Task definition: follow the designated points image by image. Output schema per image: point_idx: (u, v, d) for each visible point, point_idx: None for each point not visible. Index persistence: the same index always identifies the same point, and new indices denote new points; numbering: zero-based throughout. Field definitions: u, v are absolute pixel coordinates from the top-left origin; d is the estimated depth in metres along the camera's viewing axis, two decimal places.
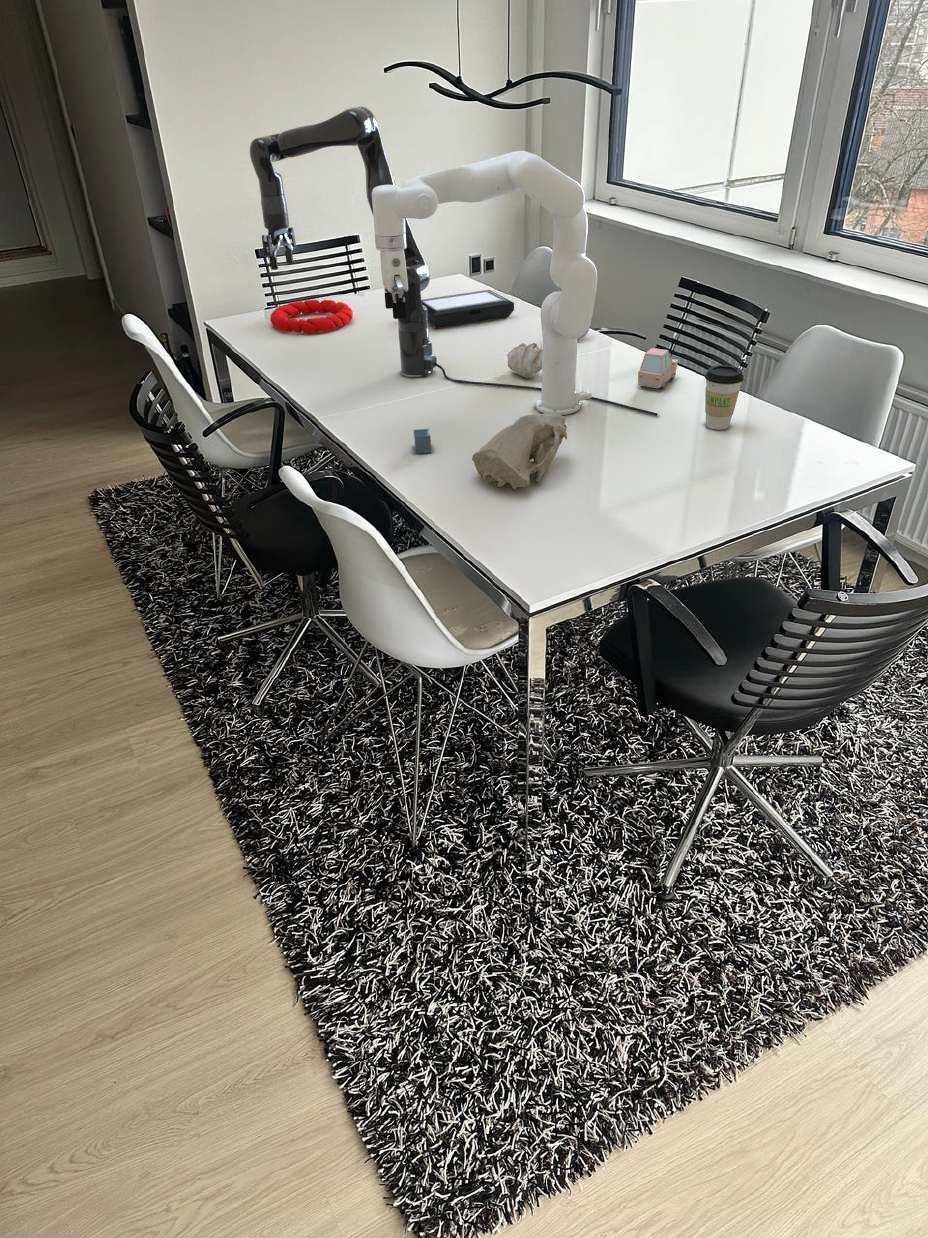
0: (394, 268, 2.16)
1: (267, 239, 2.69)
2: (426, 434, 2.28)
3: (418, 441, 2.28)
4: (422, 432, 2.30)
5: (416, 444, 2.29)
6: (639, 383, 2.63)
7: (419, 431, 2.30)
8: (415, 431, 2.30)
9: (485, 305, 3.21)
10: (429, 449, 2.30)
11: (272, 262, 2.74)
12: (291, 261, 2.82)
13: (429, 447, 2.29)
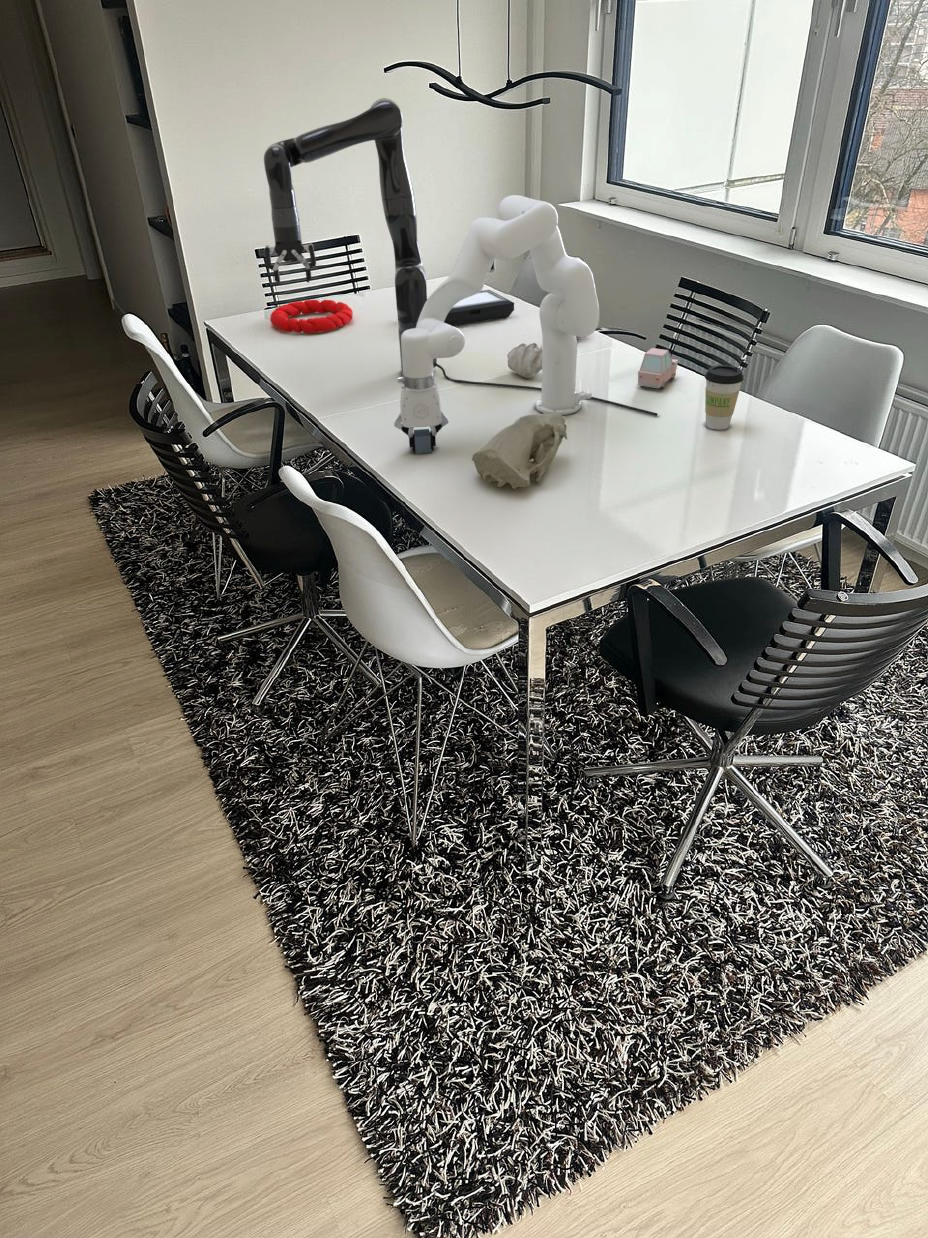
0: None
1: (265, 250, 2.56)
2: (426, 434, 2.28)
3: (418, 441, 2.28)
4: (422, 432, 2.30)
5: (416, 444, 2.29)
6: (639, 383, 2.63)
7: (419, 431, 2.30)
8: (415, 431, 2.30)
9: (485, 305, 3.21)
10: (429, 449, 2.30)
11: (274, 275, 2.60)
12: None
13: (429, 447, 2.29)
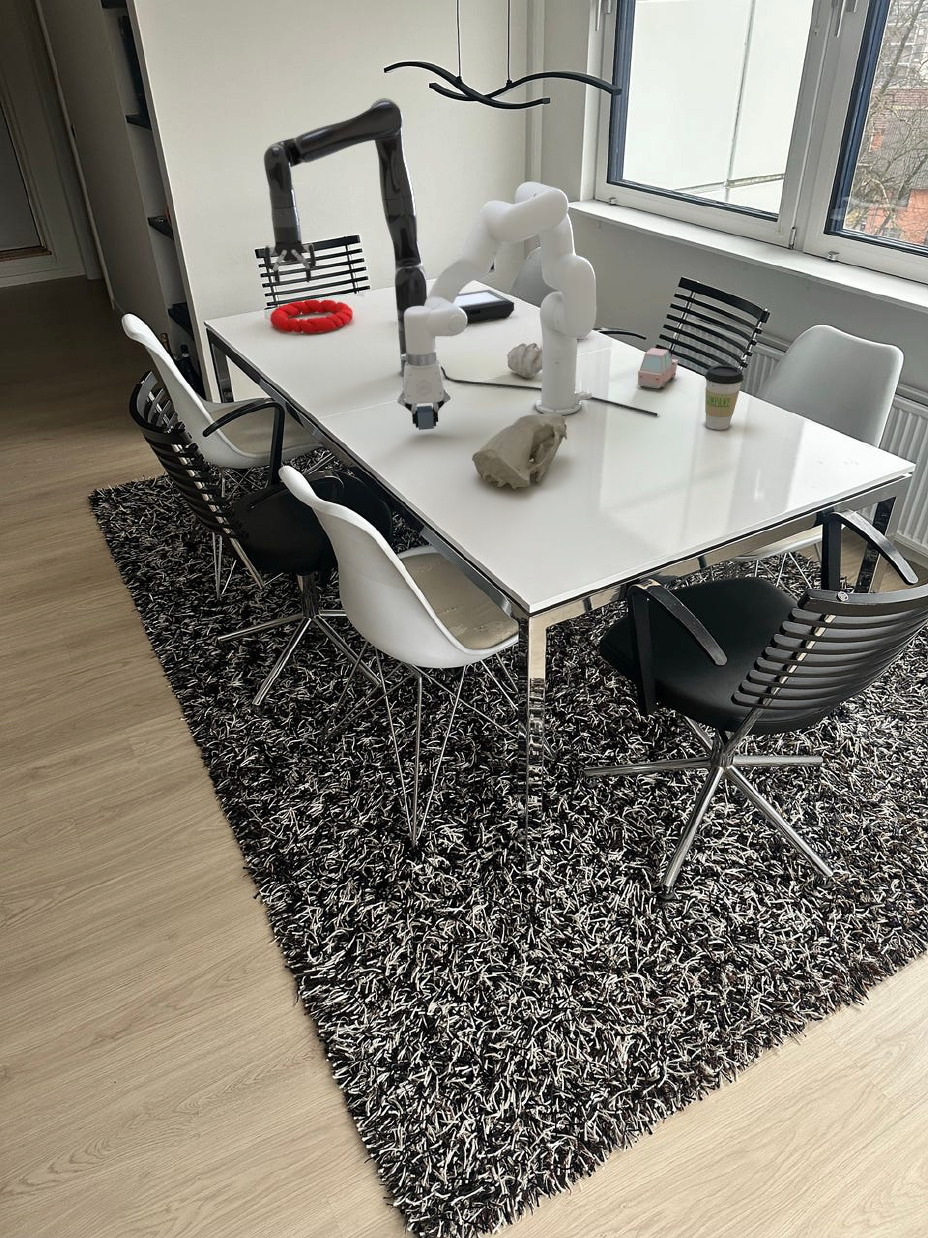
0: None
1: (265, 250, 2.56)
2: (429, 410, 2.34)
3: (421, 417, 2.34)
4: (424, 408, 2.35)
5: (419, 420, 2.34)
6: (639, 383, 2.63)
7: (422, 408, 2.35)
8: (418, 408, 2.36)
9: (485, 305, 3.21)
10: (432, 425, 2.35)
11: (274, 275, 2.60)
12: None
13: (432, 423, 2.35)
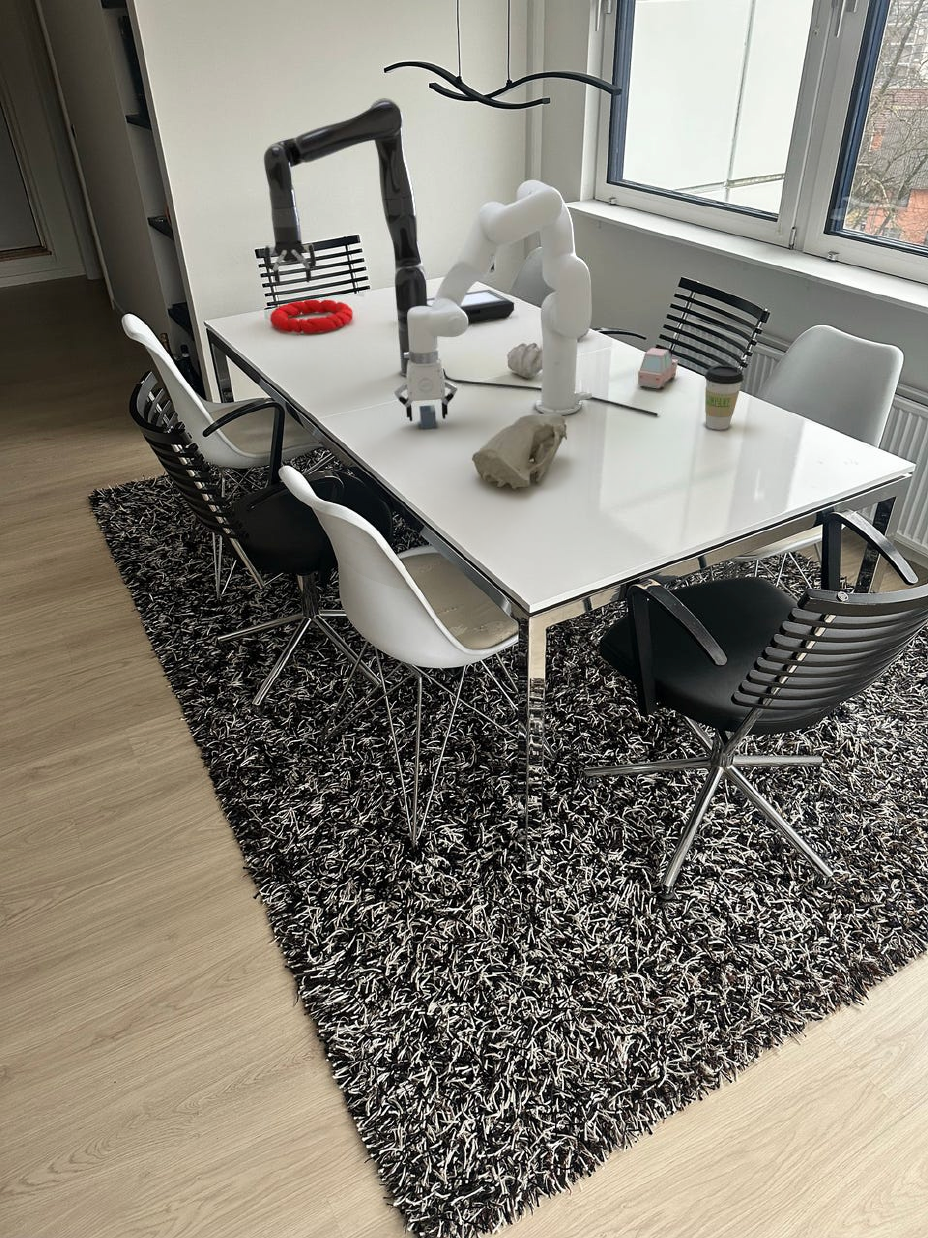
0: None
1: (265, 250, 2.56)
2: (431, 410, 2.42)
3: (423, 416, 2.42)
4: (427, 408, 2.43)
5: (422, 419, 2.42)
6: (639, 383, 2.63)
7: (425, 407, 2.43)
8: (421, 407, 2.44)
9: (485, 305, 3.21)
10: (434, 424, 2.43)
11: (274, 275, 2.60)
12: None
13: (434, 422, 2.43)
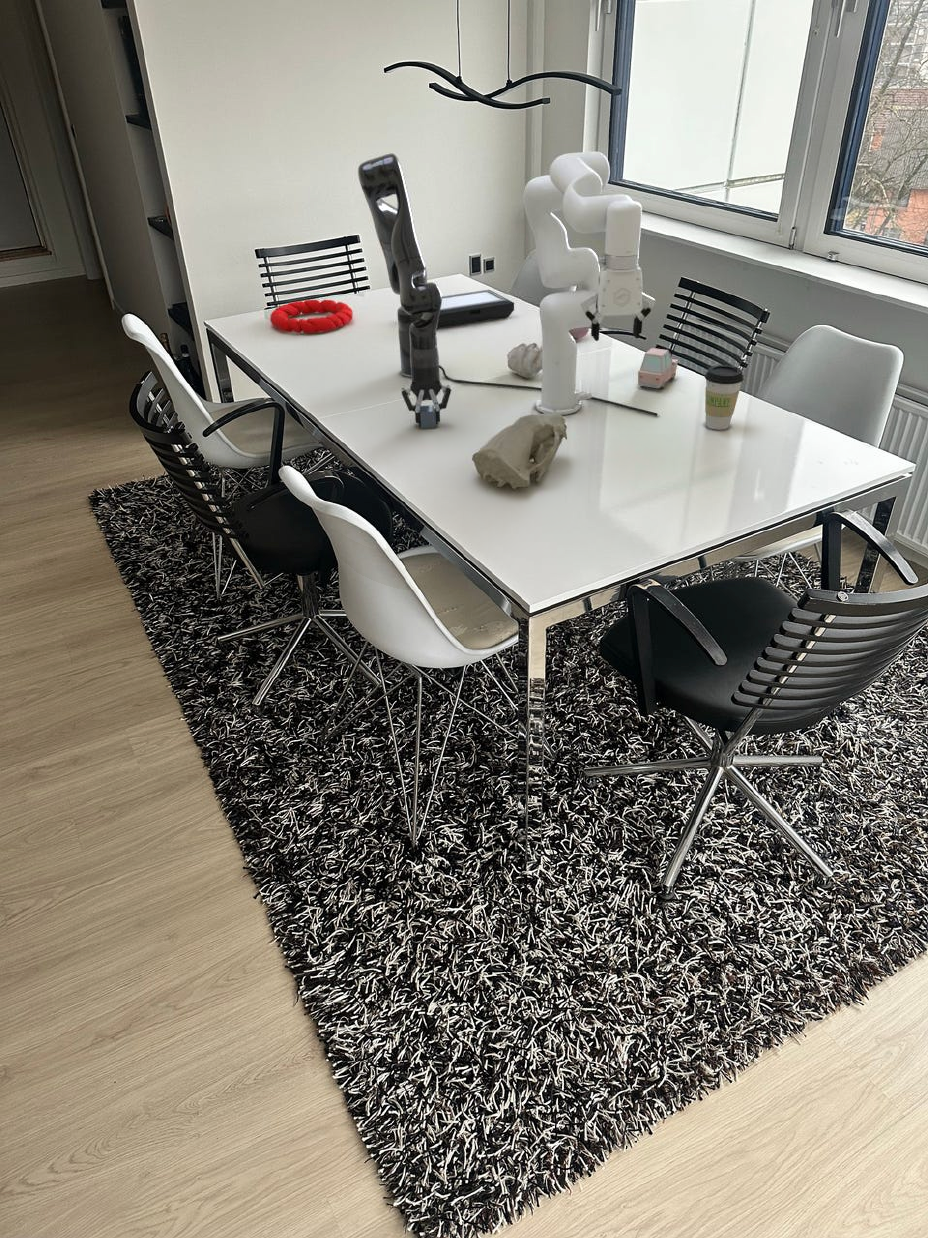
0: (597, 286, 2.03)
1: None
2: (431, 410, 2.42)
3: (423, 416, 2.42)
4: (427, 408, 2.43)
5: (422, 419, 2.42)
6: (639, 383, 2.63)
7: (425, 407, 2.43)
8: (421, 407, 2.44)
9: (485, 305, 3.21)
10: (434, 424, 2.43)
11: (415, 416, 2.44)
12: None
13: (434, 422, 2.43)
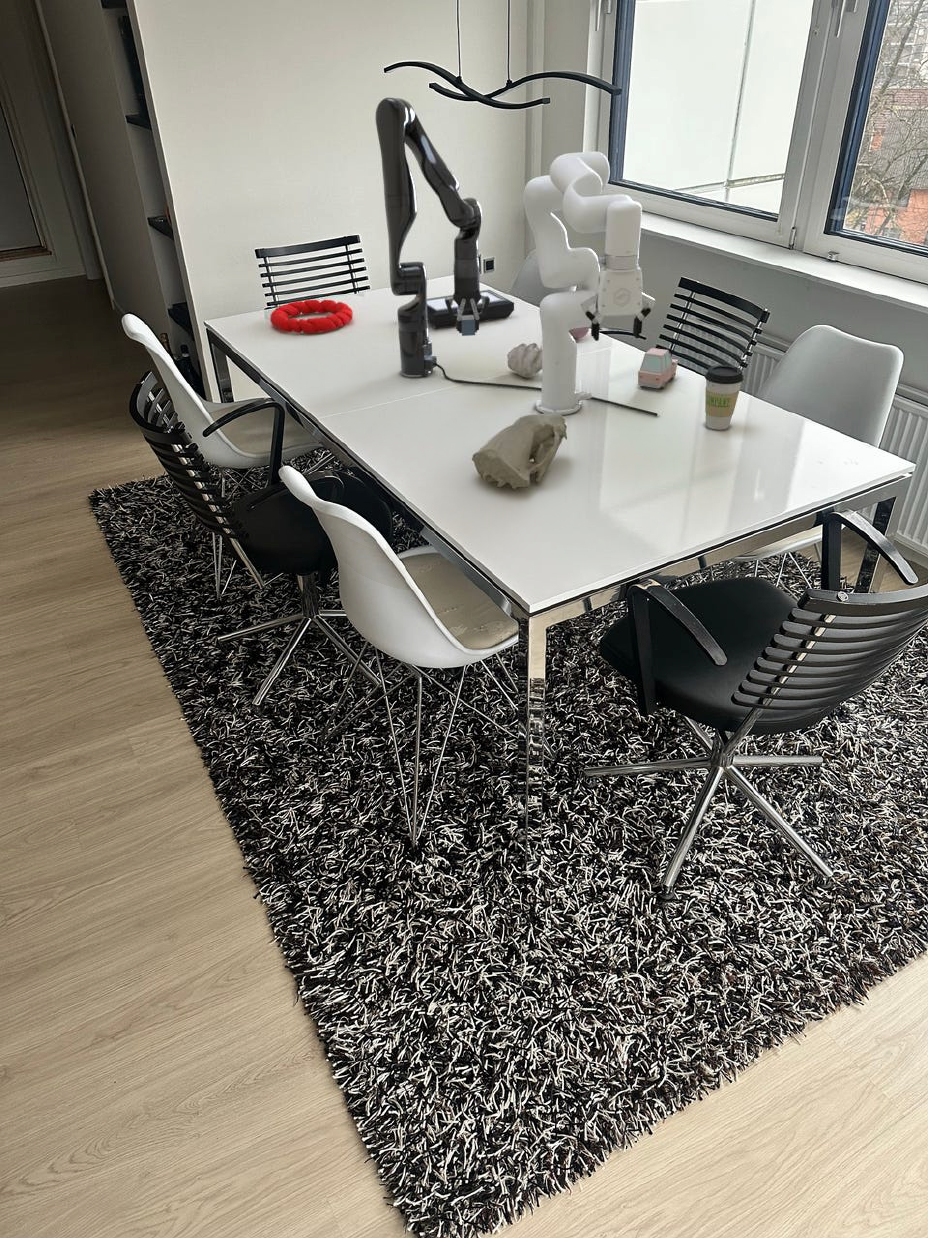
0: (597, 286, 2.03)
1: None
2: (471, 318, 2.67)
3: (464, 324, 2.67)
4: (467, 317, 2.68)
5: (463, 327, 2.67)
6: (639, 383, 2.63)
7: (465, 316, 2.69)
8: (461, 316, 2.69)
9: None
10: (473, 331, 2.69)
11: (456, 325, 2.69)
12: None
13: (473, 330, 2.68)
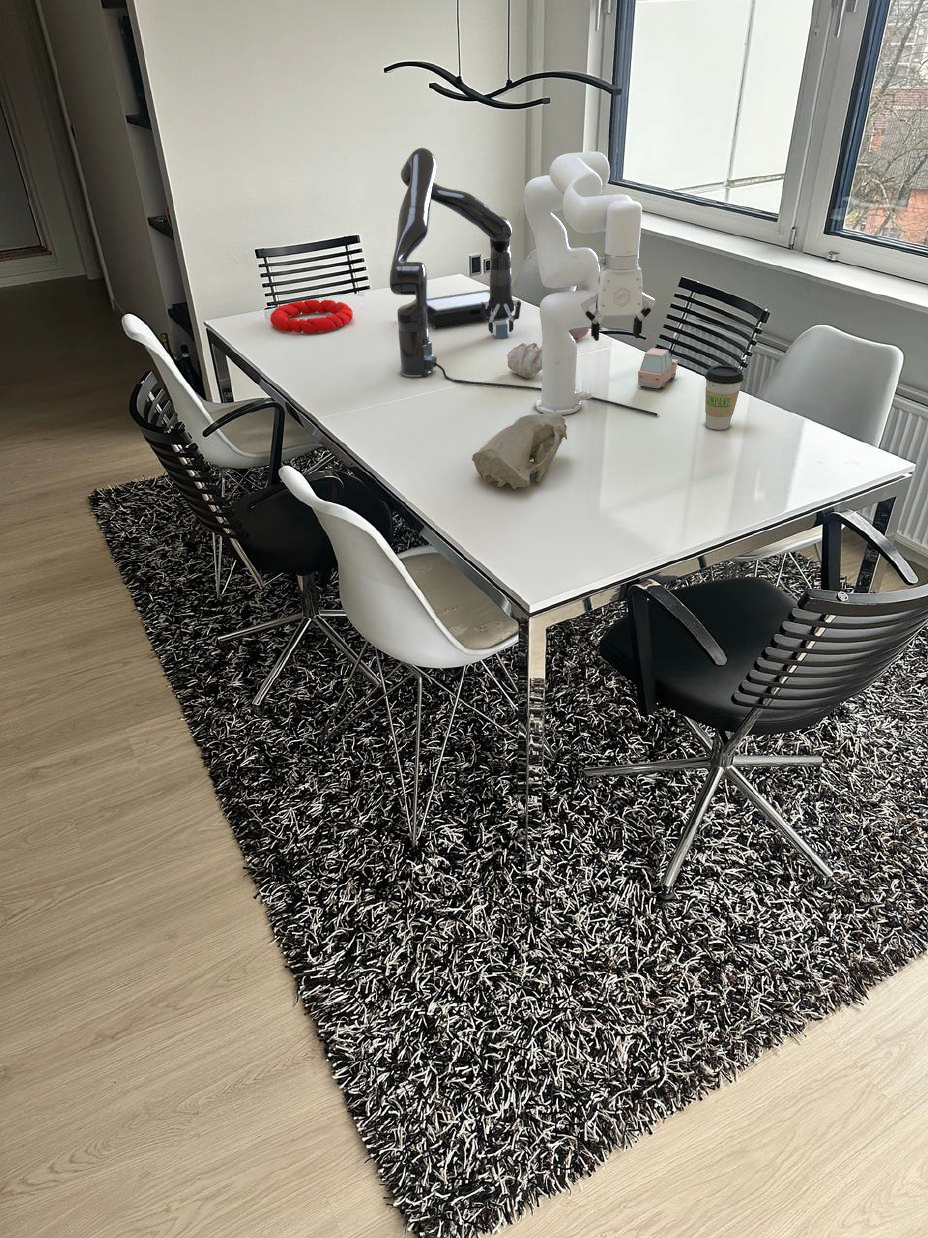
0: (597, 286, 2.03)
1: (481, 306, 3.03)
2: (504, 323, 3.06)
3: (498, 328, 3.06)
4: (500, 322, 3.07)
5: (496, 331, 3.06)
6: (639, 383, 2.63)
7: (499, 322, 3.07)
8: (495, 321, 3.08)
9: None
10: (506, 335, 3.07)
11: (488, 326, 3.07)
12: (509, 330, 3.08)
13: (506, 333, 3.07)
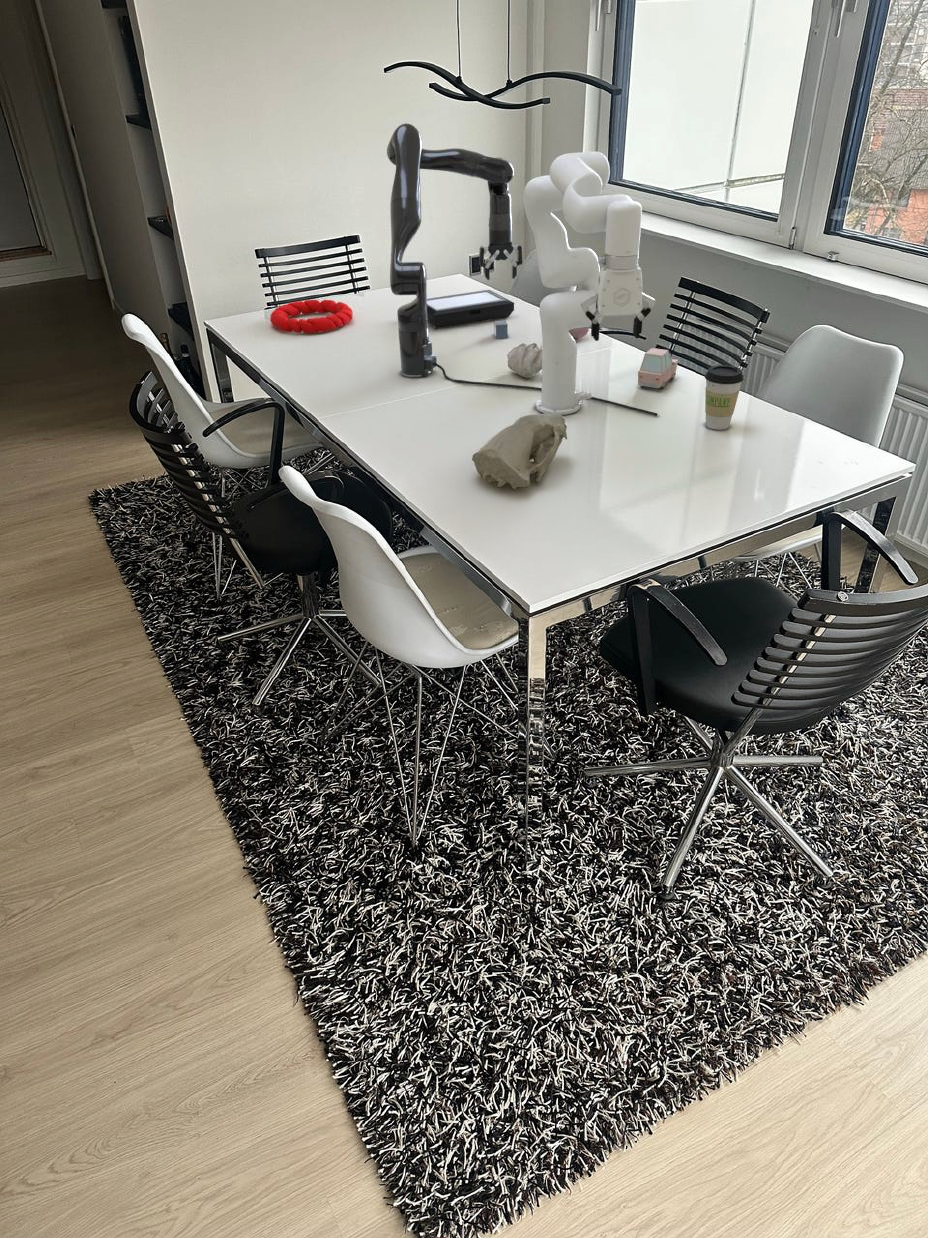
0: (597, 286, 2.03)
1: (480, 250, 2.92)
2: (504, 323, 3.06)
3: (498, 328, 3.06)
4: (500, 322, 3.07)
5: (496, 331, 3.06)
6: (639, 383, 2.63)
7: (499, 322, 3.07)
8: (495, 321, 3.08)
9: (485, 305, 3.21)
10: (506, 335, 3.07)
11: (485, 272, 2.97)
12: (512, 276, 2.98)
13: (506, 333, 3.07)
